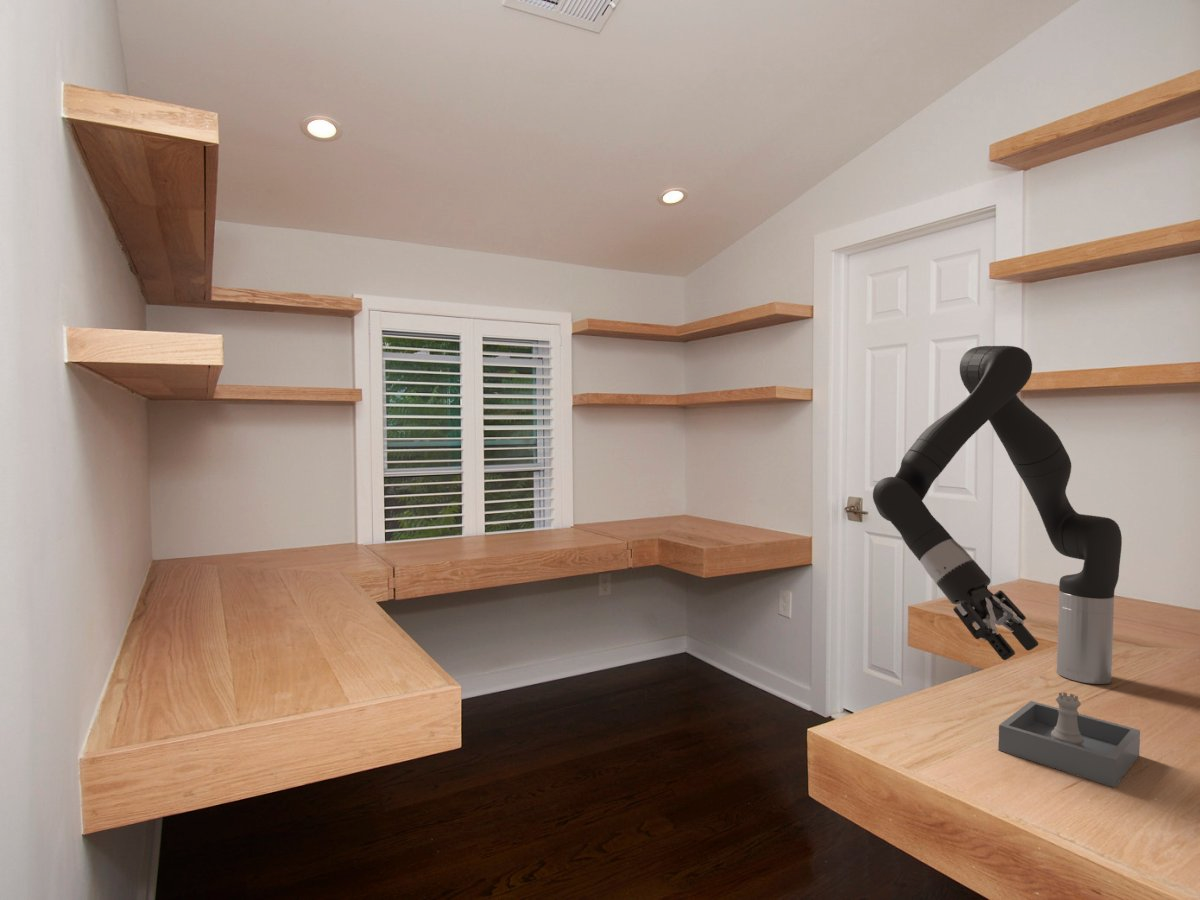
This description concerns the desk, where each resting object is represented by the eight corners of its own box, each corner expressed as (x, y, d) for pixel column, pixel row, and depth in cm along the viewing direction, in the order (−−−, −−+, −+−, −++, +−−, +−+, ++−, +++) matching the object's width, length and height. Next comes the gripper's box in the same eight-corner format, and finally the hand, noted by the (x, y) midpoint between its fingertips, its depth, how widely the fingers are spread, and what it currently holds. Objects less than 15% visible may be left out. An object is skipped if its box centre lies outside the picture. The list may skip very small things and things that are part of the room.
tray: (1030, 723, 118) (1030, 700, 118) (1139, 755, 107) (1140, 730, 107) (998, 750, 108) (999, 725, 108) (1115, 788, 97) (1115, 760, 97)
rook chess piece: (1043, 742, 109) (1044, 692, 109) (1062, 738, 111) (1064, 688, 110) (1071, 754, 105) (1073, 702, 105) (1091, 750, 107) (1092, 699, 106)
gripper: (948, 563, 116) (1020, 648, 107) (989, 554, 124) (1059, 633, 115) (917, 588, 120) (984, 672, 111) (958, 578, 128) (1023, 656, 120)
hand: (1022, 652), depth 113 cm, fingers open, 8 cm apart
